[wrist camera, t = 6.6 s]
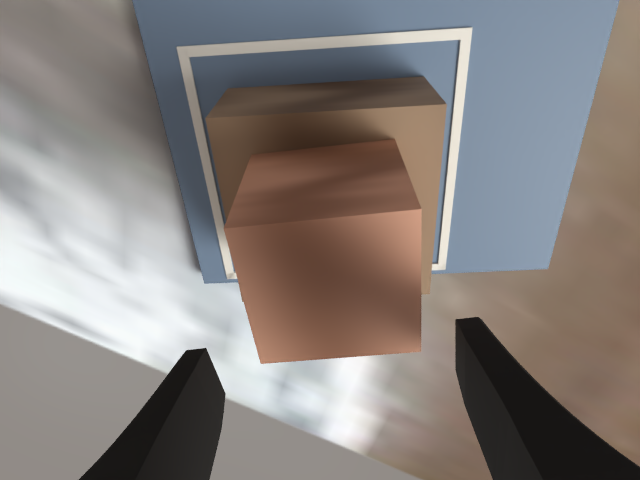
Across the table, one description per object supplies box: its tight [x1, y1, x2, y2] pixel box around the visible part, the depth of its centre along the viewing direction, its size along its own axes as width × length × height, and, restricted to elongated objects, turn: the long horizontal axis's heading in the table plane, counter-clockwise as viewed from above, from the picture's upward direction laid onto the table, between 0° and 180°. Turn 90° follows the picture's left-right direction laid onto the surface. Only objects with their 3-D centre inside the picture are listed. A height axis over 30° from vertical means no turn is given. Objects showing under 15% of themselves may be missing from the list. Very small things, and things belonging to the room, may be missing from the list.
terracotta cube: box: [224, 139, 422, 364], centre depth 15 cm, size 5×5×5 cm
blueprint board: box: [132, 0, 619, 284], centre depth 19 cm, size 18×16×1 cm
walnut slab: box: [205, 76, 447, 302], centre depth 18 cm, size 8×8×4 cm
